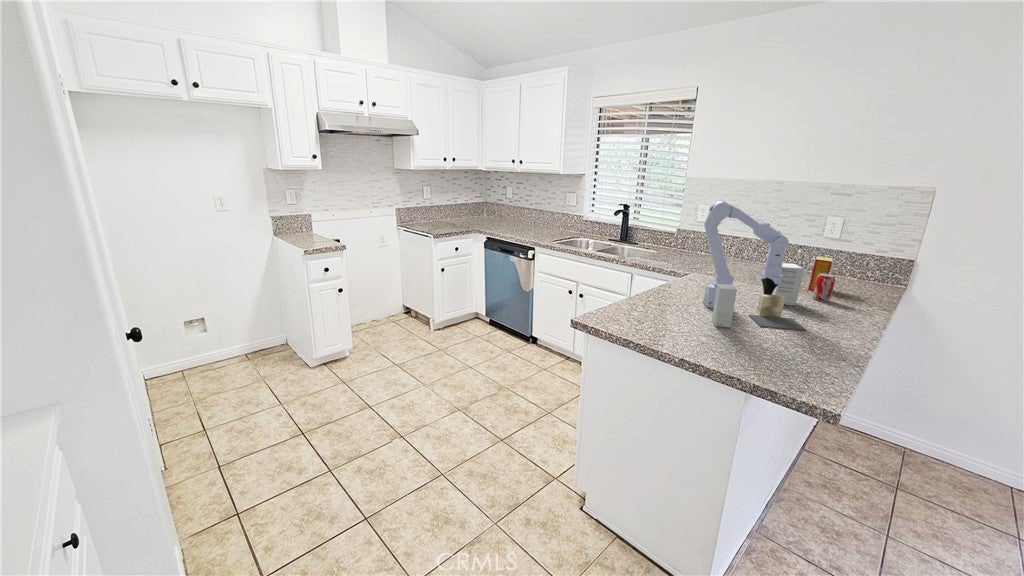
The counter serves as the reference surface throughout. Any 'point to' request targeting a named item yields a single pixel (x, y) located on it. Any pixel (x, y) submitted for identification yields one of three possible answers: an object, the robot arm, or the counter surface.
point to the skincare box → (724, 305)
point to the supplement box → (789, 283)
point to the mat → (777, 322)
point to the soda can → (823, 287)
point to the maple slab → (770, 305)
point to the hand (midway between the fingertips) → (767, 296)
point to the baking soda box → (820, 269)
